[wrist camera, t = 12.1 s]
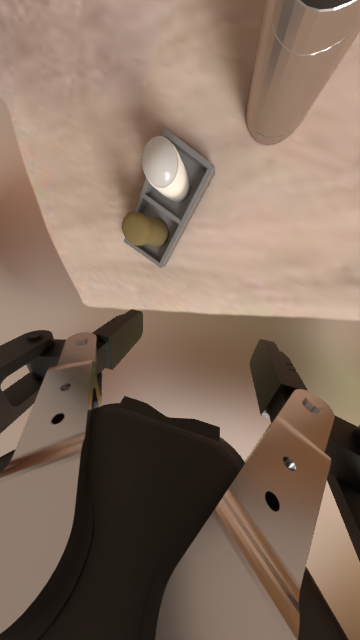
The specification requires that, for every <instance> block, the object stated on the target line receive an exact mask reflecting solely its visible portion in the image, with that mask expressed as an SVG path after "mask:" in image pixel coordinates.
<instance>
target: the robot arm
mask: <svg viewBox="0 0 360 640" xmlns="http://www.w3.org/2000/svg"><path fill="white" fill-rule="evenodd" d="M359 32H360V0H266V4H265V10H264V15H263V21H262V27H261V32H260V38H259V43H258V49H257V54H256V60H255V66H254V71H253V77H252V82H251V87H250V93H249V99H248V104H247V113H246V119H247V126H248V130H249V132H250V134H251V136H252V137H253V138H254V139H255V140H256V141H257V142H259V143H261V144H265V145H269V144H275V143H278V142H280V141H282V140H283V139H285V138H287V137H288V136H289V135H290V134H291V133H292V132H293V131H294V130H295V129H296V128H297V127H298V126H299V124H300V123H301V121H302V120H303V118H304V117H305V115H306V114H307V112H308V111H309V109H310V108H311V106H312V105H313V103H314V102H315V100H316V99H317V97H318V95H319V94H320V92H321V91H322V89H323V88H324V86H325V85H326V83H327V82H328V80H329V78H330V77H331V75H332V74H333V72H334V71H335V69H336V68H337V66H338V64H339V63H340V61H341V60H342V58H343V57H344V55H345V54H346V52H347V51H348V49H349V47H350V46H351V44H352V43H353V41H354V40H355V38H356V37H357V35H358V33H359ZM142 332H143V313H142V312H141V311H137V310H133V309H131V310H130V311H128V312H127V313H125V314H122V315H119V316H116V317H115V318H113V319H112V320H111V321H109V322H107V324H104V325H103V326H102V327H100V328H99V329H97V330H96V331H94V332H93V333H87V332H86V333H78V334H75V335H72V336H71V337H69V338H68V339H67V340H55V339H54V338H53V335H52V333H51V332H50V331H46V330H38V331H33V332H29V333H26V334H24V335H21V336H19V337H17V338H16V339H13V340H12V341H9V342H7V343H5V344H3V345H1V346H0V385H1V383H2V381H3V380H4V379H5V378H6V377H7V376H9V375H10V374H12V373H13V372H15V371H17V370H18V369H19V368H21V367H22V366H24V365H27V367H28V369H29V371H30V373H28V374H27V375H25V376H24V377H23V378H21V379H20V380H18V381H17V382H16V383H14V384H13V385H11V386H10V387H9V388H7V389H6V390H4V391H3V392H2V390H1V389H0V433H1V432H2V431H4V430H5V429H6V428H7V427H8V426H9V425H10V424H11V423H13V422H14V421H15V420H16V419H17V418H18V417H19V416H20V415H21V414H22V413H24V412H25V411H26V410H27V409H28V408H29V407H30V406H31V405H32V404H34V405H33V408H32V410H31V412H30V415H29V417H28V420H27V423H26V425H25V427H24V430H23V433H22V435H21V437H20V440H19V442H18V445H17V447H16V449H15V450H13V451H11V452H9V453H7V454H6V455H4V456H2V457H0V640H348V638H347V636H346V634H345V633H344V631H343V629H342V627H341V626H340V624H339V622H338V621H337V619H336V617H335V615H334V614H333V612H332V610H331V609H330V607H329V605H328V603H327V602H326V600H325V599H324V597H323V595H322V593H321V591H320V590H319V588H318V586H317V585H316V583H315V581H314V579H313V578H312V576H311V574H310V573H309V571H308V569H307V567H306V563H307V559H308V555H309V551H310V546H311V542H312V538H313V534H314V530H315V526H316V521H317V518H318V514H319V510H320V505H321V501H322V497H323V493H324V489H325V485H326V481H328V483H329V486H330V488H331V491H332V493H333V496H334V498H335V501H336V503H337V506H338V508H339V510H340V513H341V516H342V518H343V521H344V523H345V526H346V528H347V531H348V533H349V536H350V538H351V541H352V543H353V546H354V548H355V551H356V554H357V556H358V558H359V561H360V425H359V426H358V427H357V426H355V425H353V424H351V423H349V422H347V421H345V420H343V419H341V418H339V417H337V416H335V415H334V413H333V411H332V409H331V408H330V407H329V405H328V404H327V403H326V402H325V401H324V400H322V399H321V398H320V397H318V396H317V395H315V394H313V393H311V392H309V391H308V390H307V388H306V387H305V385H304V383H303V381H302V380H301V378H300V376H299V375H298V373H297V372H296V369H295V368H294V366H293V364H292V363H291V361H290V359H289V358H288V357H287V356H286V355H285V354H284V353H283V352H280V351H279V349H278V348H277V346H276V344H275V342H272V341H268V340H264V339H260V340H259V342H258V344H257V346H256V348H255V350H254V353H253V355H252V357H251V361H250V369H251V374H252V378H253V382H254V387H255V391H256V396H257V400H258V405H259V409H260V414H261V416H264V417H267V418H270V420H271V424H270V425H269V427H268V428H267V430H266V431H265V433H264V434H263V436H262V437H261V438H260V440H259V442H258V443H257V444H256V446H255V447H254V449H253V450H252V452H251V453H250V454H249V456H248V457H247V459H246V460H245V462H244V460H243V459H242V458H241V456H240V455H239V454H238V453H237V452H236V450H235V449H234V448H233V447H232V446H231V445H229V444H228V443H227V442H226V441H225V440H224V439H222V438H220V428H219V427H217V426H214V425H211V424H208V423H205V422H202V421H199V420H195V419H184V418H169V417H166V416H165V415H163V414H162V413H160V412H159V411H157V410H156V409H154V408H153V407H151V406H150V405H148V404H147V403H144V402H141V401H138V400H135V399H132V398H129V397H126V396H124V398H123V399H122V401H121V403H115V404H107V405H102V377H103V374H102V370H103V369H104V368H108V369H111V370H113V369H114V368H115V367H116V365H117V364H118V363H119V362H120V361H121V359H123V357H124V356H125V355H126V354H127V353H128V352H129V351H130V349H131V348H132V347H133V346H134V345H135V344H136V343H137V341H138V340H139V339H140V338H141V336H142Z"/></svg>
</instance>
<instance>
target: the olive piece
mask: <svg viewBox="0 0 360 640" xmlns="http://www.w3.org/2000/svg"><path fill="white" fill-rule="evenodd" d="M122 229H123V233H124V236H125V237H126V239H127V240H128V241H129V242H130V243H131V244H134V245H136V246H141V245H144V244H148V245H151V246H154V247H161V246H163V245H164V244H165V243H166V242H167V240H168V237H169V229H168V226H167V224H166V223H165V221H164V220H162V219H160V218H147V217H146V216H144V215H143V214H141V213H139V212H131V213H129V214H127V215H126V217H125V218H124V220H123V225H122Z"/></svg>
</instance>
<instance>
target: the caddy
mask: <svg viewBox="0 0 360 640" xmlns="http://www.w3.org/2000/svg"><path fill="white" fill-rule="evenodd" d="M161 136H163V137H165V138H167V139H168V140H169V141H170V142H171V143H172V144H173V145H174V146H175V148H176V149H177V151H178V153H179V156H180V158H181V160H182V162H183V164H184V166H185V168H186V170H187V172H188V174H189V177H190V181H191V187H190V192H189V194H188V196H187V197H186V199H185V200H183V201H182V202H180V203H174V202H171V201H170V200H169V199H167V198H166V197H165V196H164V195H163V194H162V193H160V192H159V191H158V190H157V189H156V188H154V187H153V186H152V185H151V184H150V183H149V181H148V179H147V178H146V179H145V182H144V185H143V188H142V191H141V193H140V196H139V199H138V202H137V205H136V208H135V211H134V212H139V213H141V214H143V215H144V216H146V217H147V218H160V219H162V220H164V221H165V223H166V224H167V226H168V229H169V237H168V240H167V242H166V243H165V244H164V245H163V246H161V247H154V246H151V245H148V244H144V245H141V246H136V245H134V244H131V243H130V242H129V241H128V240H127V239H126V237H125V239H124V242H125V243H126V244H128V245H129V246H131V247H132V248H134V249H135V250H136V251H138V252H139V253H141V254H142V255H143V256H145V257H146V258H148V259H149V260H151V261H152V262H153V263H155V264H156V265H158V266H159V267H160V268H162V267H164V266H165V265H166V263H167V262H168V260H169V258H170V256H171V254H172V252H173V250H174V249H175V247H176V245H177V243H178V241H179V239H180V237H181V235H182V234H183V232H184V230H185V228H186V226H187V224H188V222H189V221H190V219H191V217H192V215H193V213H194V211H195V209H196V207H197V206H198V204H199V202H200V200H201V198H202V196H203V194H204V193H205V191H206V189H207V187H208V185H209V183H210V181H211V179H212V178H213V176H214V174H215V167H214V165H213V164H211V163H210V162H209V161H208V160H206V159H205V158H204V157H202V156H201V155H200V154H198V153H197V152H196V151H195V150H193V149H192V148H191V147H189V146H188V145H187V144H185V143H184V142H183V141H182V140H180V139H179V138H178V137H176V136H175V135H174V134H172V133H171V132H170V131H168V130H167V129H166V128H165V127H164V128H163V131H162V134H161Z"/></svg>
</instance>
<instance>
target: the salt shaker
mask: <svg viewBox="0 0 360 640" xmlns="http://www.w3.org/2000/svg"><path fill="white" fill-rule="evenodd" d="M142 167H143V171H144V174H145V176H146V178H147V179H148V181H149V183H150V184H151V185H152V186H153V187H154V188H156V189H157V190H158V191H159V192H160V193H162V194H163V195H164V196H165V197H166V198H167V199H169V200H170V201H171V202H174V203H180V202H182V201H183V200H185V199H186V197H187V196H188V194H189V192H190V187H191V181H190V177H189V174H188V172H187V170H186V168H185V166H184V164H183V162H182V160H181V158H180V156H179V153H178V151H177V149H176V148H175V146H174V145H173V144H172V143H171V142H170V141H169V140H168V139H167V138H165V137H163V136H156V137H153V138H152V139H151V140H149V142H148V143H147V144H146V146H145V148H144V151H143V155H142Z"/></svg>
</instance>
